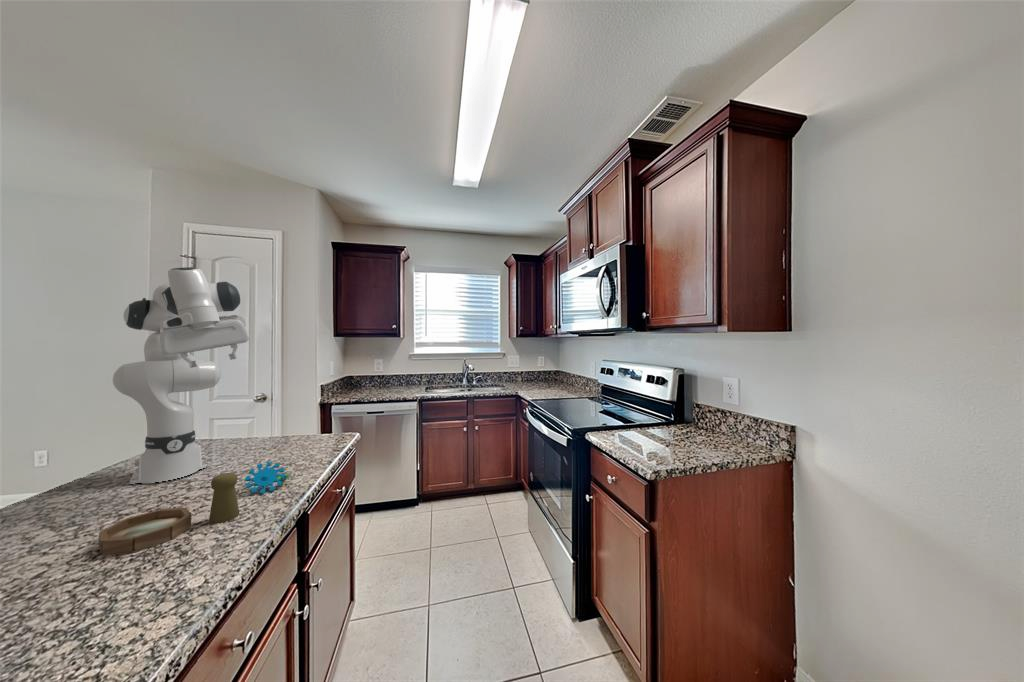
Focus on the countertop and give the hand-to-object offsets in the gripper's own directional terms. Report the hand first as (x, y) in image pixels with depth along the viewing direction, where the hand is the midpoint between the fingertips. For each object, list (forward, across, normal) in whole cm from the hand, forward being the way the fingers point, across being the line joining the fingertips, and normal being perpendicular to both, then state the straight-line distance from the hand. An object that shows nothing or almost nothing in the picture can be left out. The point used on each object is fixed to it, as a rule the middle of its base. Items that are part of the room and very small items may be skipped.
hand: (214, 363), depth 104 cm
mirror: (+37, +22, +18) cm, 47 cm away
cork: (+40, +9, +20) cm, 46 cm away
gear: (+42, -2, +7) cm, 42 cm away
